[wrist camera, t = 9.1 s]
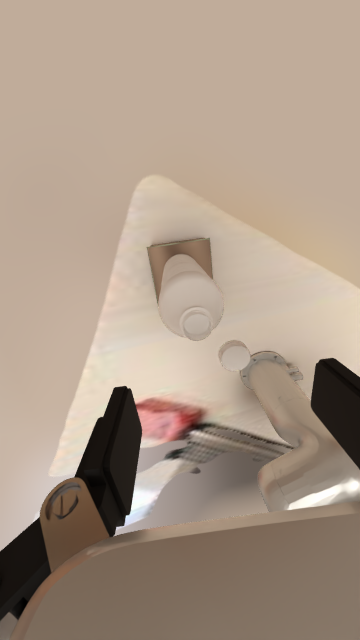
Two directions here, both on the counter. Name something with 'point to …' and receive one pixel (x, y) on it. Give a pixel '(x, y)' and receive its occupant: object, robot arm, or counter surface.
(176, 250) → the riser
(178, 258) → the water bottle
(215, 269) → the counter surface
